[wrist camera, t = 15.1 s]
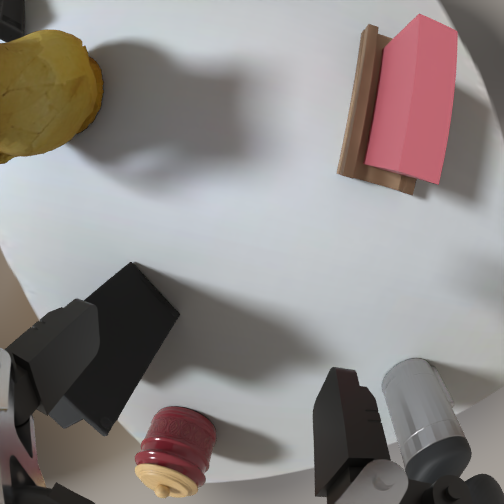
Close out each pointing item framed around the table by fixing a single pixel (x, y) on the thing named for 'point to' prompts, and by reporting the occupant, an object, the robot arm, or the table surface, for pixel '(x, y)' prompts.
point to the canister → (176, 452)
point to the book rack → (367, 117)
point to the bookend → (117, 350)
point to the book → (414, 101)
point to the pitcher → (45, 92)
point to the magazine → (11, 19)
